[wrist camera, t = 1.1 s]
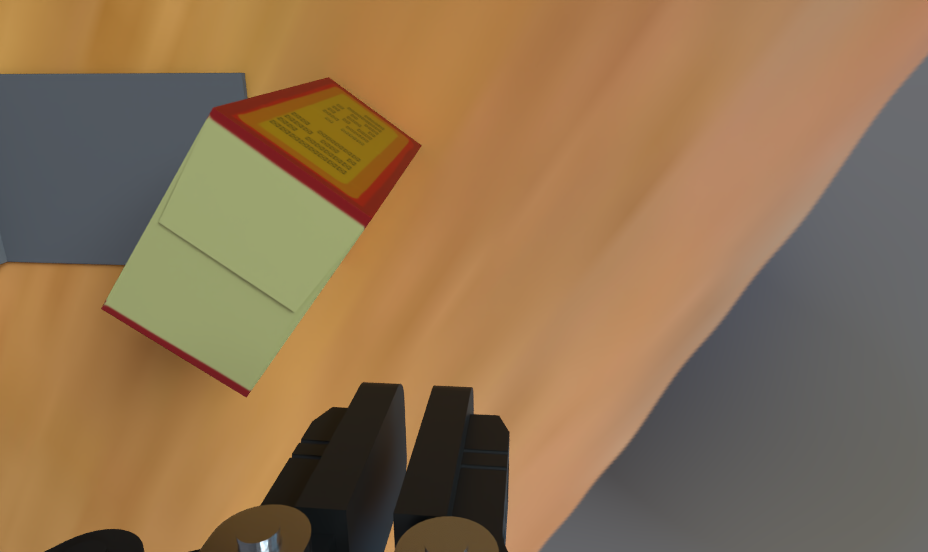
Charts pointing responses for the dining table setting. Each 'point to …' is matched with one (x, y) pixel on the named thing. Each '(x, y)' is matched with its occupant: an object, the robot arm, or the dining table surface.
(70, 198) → the bookend
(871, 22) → the dining table surface
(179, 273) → the baking soda box
